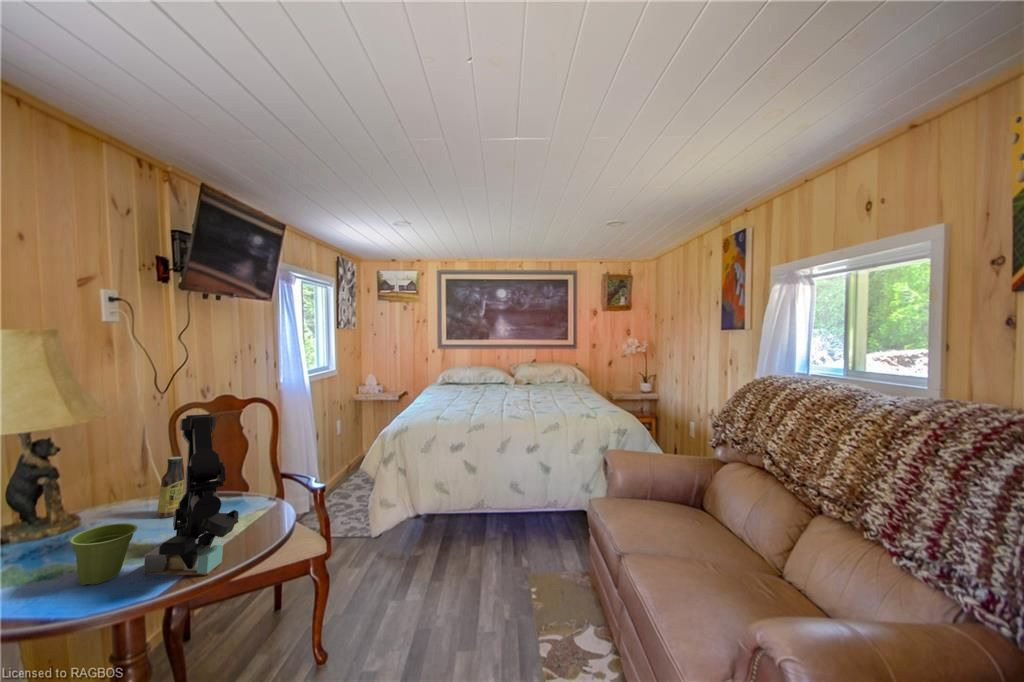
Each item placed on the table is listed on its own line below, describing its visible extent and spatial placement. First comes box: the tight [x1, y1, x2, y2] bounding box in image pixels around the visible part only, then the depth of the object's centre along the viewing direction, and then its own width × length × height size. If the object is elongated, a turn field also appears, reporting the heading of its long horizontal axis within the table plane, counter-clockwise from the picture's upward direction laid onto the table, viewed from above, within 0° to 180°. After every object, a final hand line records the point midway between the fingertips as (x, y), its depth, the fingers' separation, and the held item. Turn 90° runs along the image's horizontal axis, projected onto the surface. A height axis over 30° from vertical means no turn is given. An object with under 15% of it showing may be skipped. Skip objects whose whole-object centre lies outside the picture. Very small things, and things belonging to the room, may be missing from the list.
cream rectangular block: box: [166, 545, 211, 571], centre depth 102 cm, size 11×4×5 cm, turn 93°
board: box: [143, 562, 222, 576], centre depth 102 cm, size 16×5×1 cm, turn 93°
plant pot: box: [69, 522, 138, 586], centre depth 97 cm, size 12×12×11 cm
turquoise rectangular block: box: [197, 544, 224, 574], centre depth 102 cm, size 2×6×5 cm, turn 4°
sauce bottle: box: [157, 456, 185, 519], centre depth 133 cm, size 7×6×20 cm
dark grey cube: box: [143, 546, 169, 573], centre depth 102 cm, size 5×5×4 cm
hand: (196, 564), depth 102 cm, fingers closed on cream rectangular block, 4 cm apart
